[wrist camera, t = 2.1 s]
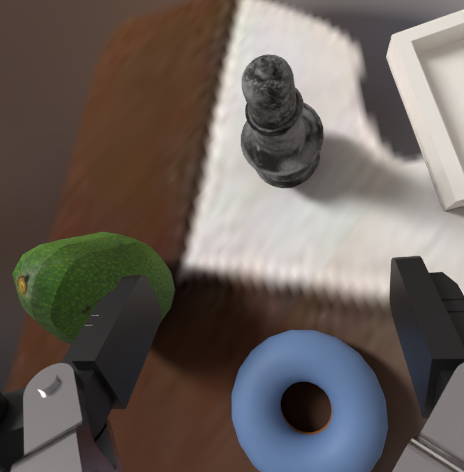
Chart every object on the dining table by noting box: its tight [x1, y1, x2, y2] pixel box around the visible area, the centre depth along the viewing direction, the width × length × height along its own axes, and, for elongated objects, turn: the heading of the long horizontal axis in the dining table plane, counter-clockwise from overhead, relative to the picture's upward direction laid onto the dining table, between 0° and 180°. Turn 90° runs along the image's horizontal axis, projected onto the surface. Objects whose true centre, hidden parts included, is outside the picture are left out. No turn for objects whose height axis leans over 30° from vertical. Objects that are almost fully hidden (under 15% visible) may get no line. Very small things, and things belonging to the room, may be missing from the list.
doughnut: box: [232, 330, 388, 472], centre depth 23 cm, size 10×10×5 cm
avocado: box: [12, 232, 175, 345], centre depth 24 cm, size 8×8×12 cm
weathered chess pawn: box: [241, 55, 323, 188], centre depth 23 cm, size 6×6×12 cm
